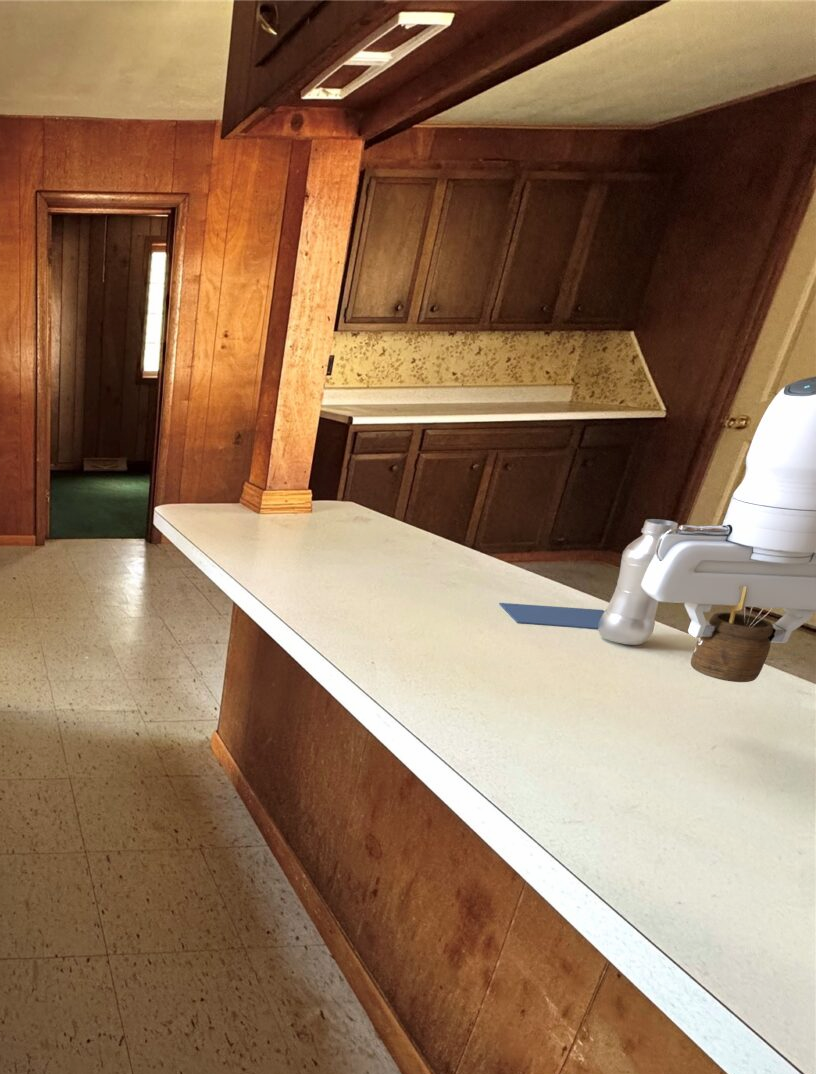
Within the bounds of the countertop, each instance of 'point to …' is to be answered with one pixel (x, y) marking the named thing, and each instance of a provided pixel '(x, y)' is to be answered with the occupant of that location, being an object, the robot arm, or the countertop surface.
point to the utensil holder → (734, 645)
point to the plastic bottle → (634, 590)
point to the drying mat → (554, 615)
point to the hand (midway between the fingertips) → (736, 638)
